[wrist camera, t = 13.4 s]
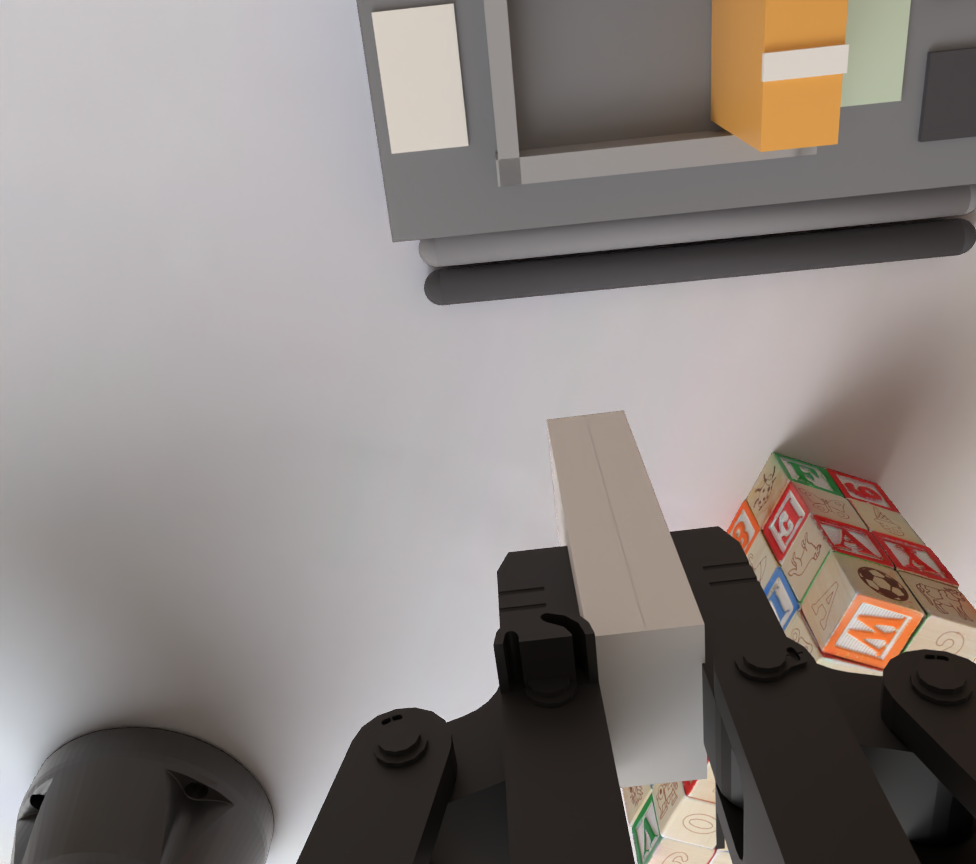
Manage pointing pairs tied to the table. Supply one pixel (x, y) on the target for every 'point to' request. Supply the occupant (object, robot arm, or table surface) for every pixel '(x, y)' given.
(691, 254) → the grey ledge with rod
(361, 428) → the table surface
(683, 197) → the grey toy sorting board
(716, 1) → the breaker lever
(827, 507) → the stack of blocks
